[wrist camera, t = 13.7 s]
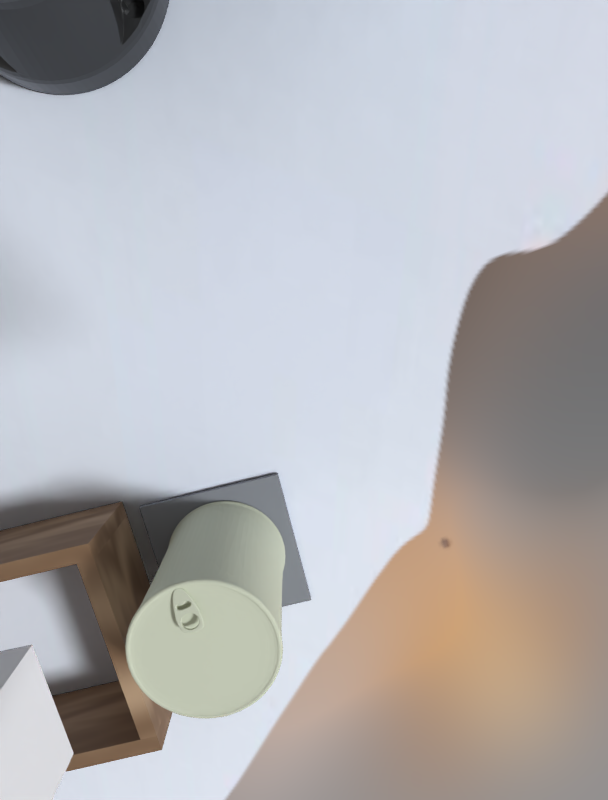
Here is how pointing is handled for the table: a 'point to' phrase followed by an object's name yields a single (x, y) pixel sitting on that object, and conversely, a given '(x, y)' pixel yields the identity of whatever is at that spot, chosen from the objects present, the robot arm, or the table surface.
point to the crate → (114, 609)
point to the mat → (251, 492)
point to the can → (212, 614)
